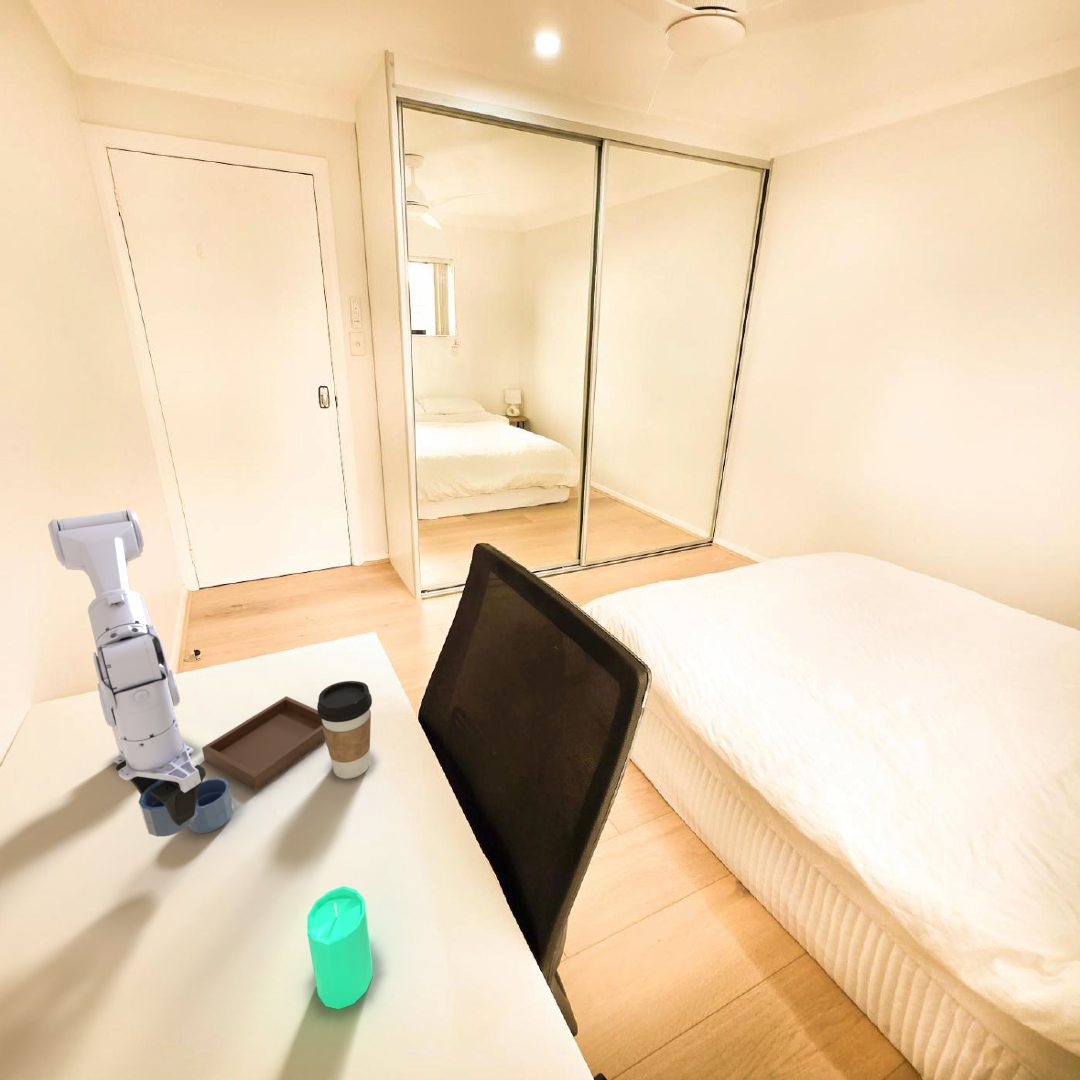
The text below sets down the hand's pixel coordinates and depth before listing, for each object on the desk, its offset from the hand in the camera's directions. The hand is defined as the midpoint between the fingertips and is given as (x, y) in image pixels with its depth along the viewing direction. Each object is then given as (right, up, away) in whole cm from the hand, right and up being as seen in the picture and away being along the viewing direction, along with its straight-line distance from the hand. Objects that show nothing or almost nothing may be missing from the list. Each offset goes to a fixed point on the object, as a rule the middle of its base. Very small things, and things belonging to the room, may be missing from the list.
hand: (171, 809), depth 71 cm
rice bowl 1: (0, -2, +1) cm, 2 cm away
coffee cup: (+17, -3, +20) cm, 26 cm away
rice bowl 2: (0, -6, +9) cm, 11 cm away
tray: (+1, -1, +24) cm, 24 cm away
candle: (+27, -14, -10) cm, 32 cm away
